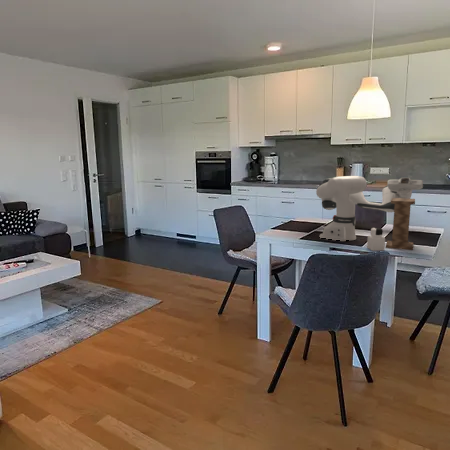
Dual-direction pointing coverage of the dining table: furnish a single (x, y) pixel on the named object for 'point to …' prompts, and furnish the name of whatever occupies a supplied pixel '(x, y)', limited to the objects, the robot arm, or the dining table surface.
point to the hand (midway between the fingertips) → (405, 179)
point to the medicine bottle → (376, 240)
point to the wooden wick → (404, 180)
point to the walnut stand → (401, 224)
